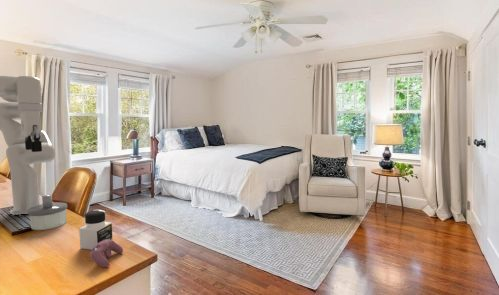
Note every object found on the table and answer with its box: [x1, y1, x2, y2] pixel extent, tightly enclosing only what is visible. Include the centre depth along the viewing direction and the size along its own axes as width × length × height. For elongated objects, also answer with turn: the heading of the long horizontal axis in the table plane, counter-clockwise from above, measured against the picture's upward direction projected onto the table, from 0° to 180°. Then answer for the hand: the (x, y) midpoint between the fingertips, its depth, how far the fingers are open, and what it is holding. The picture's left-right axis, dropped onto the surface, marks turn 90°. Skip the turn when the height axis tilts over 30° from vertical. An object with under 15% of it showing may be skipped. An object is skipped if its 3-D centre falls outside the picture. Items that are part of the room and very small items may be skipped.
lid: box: [27, 194, 68, 217], centre depth 111 cm, size 13×13×6 cm
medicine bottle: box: [78, 209, 114, 251], centre depth 94 cm, size 7×7×12 cm
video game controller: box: [89, 239, 124, 268], centre depth 84 cm, size 10×5×7 cm, turn 179°
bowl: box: [29, 209, 68, 231], centre depth 111 cm, size 12×12×6 cm
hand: (33, 150), depth 111 cm, fingers open, 9 cm apart
